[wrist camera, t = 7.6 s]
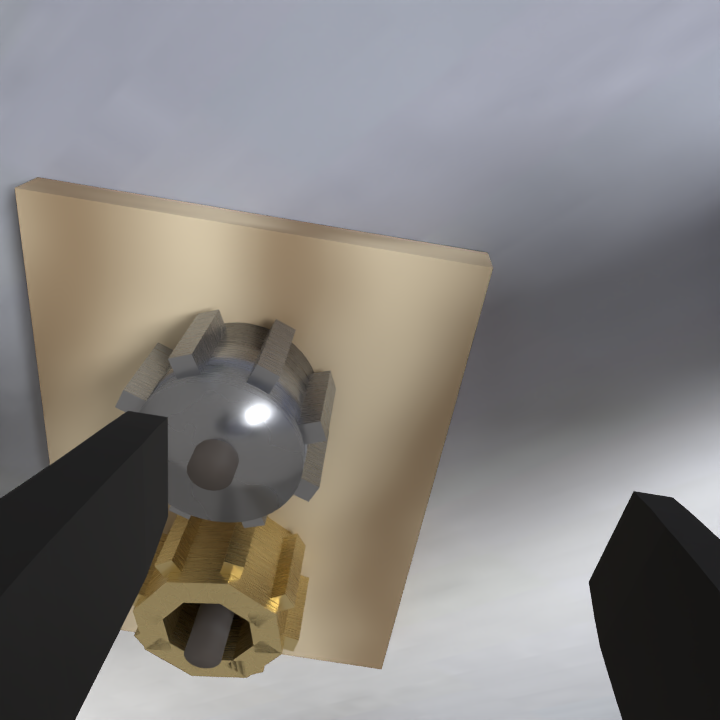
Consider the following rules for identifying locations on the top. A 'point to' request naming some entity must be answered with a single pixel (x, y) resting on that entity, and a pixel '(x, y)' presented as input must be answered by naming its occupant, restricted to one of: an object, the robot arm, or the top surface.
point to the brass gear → (224, 592)
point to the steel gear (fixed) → (237, 415)
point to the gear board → (312, 337)
